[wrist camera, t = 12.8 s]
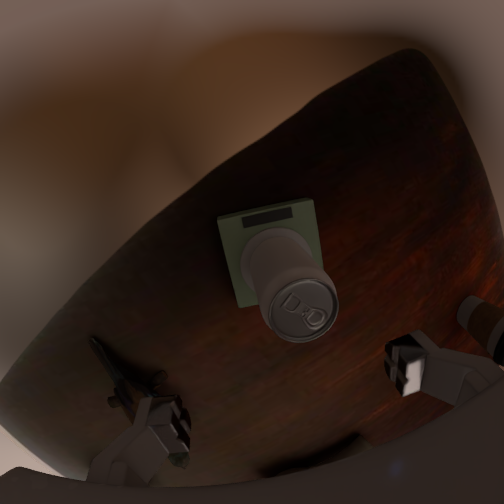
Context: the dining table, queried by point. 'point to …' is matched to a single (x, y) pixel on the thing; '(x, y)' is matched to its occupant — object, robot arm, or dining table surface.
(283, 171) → the dining table surface
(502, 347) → the coffee cup
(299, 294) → the can
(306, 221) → the scale
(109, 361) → the bird figurine
